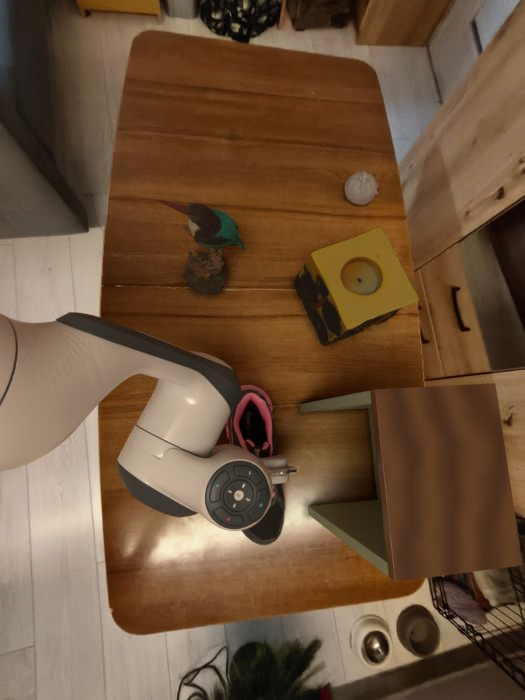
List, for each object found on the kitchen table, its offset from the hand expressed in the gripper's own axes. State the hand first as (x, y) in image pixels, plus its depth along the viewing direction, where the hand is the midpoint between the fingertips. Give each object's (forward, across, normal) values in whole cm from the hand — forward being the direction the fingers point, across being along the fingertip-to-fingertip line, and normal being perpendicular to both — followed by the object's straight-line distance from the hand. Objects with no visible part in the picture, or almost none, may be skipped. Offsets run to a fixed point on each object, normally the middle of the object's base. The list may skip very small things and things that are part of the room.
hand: (221, 467), depth 73 cm
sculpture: (+4, +2, -36) cm, 36 cm away
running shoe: (+4, -6, 0) cm, 7 cm away
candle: (+4, -25, -30) cm, 39 cm away
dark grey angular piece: (+4, -23, 0) cm, 23 cm away
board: (-29, -23, 0) cm, 37 cm away
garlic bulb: (+4, -31, -53) cm, 62 cm away
